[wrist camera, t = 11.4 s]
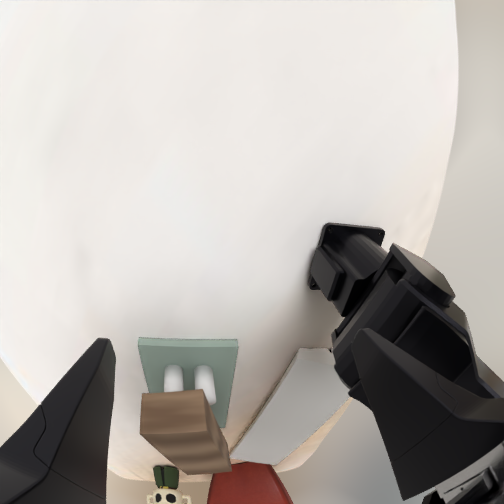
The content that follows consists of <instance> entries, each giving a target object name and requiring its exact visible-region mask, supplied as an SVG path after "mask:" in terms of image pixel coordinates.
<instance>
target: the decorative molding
mask: <svg viewBox="0 0 504 504" xmlns="http://www.w3.org/2000/svg"><path fill="white" fill-rule="evenodd" d="M331 351H333V348H331ZM334 364H335V359H334V355H333V352H332V353H330V351H329V350H328V349H327V348H312V349H308V348H299V350H298V352H297V353H296V355H295V357H294V359H293V360H292V362H291V364H290V365H289V367H288V369H287V370H286V372H285V373H284V375H283V377H282V378H281V380H280V381H279V383H278V385H277V386H276V388H275V389H274V391H273V393H272V394H271V396H270V397H269V399H268V400H267V402H266V403H265V405H264V406H263V408H262V409H261V411H260V412H259V414H258V415H257V417H256V418H255V420H254V421H253V422H252V424H251V425H250V427H249V428H248V430H247V431H246V432H245V434H244V435H243V437H242V438H241V439H240V441H239V442H238V443H237V445H236V446H235V447H234V449H233V450H232V452H231V454H230V456H229V457H230V458H232V459H237V460H243V461H249V462H256V463H263V464H271V465H277V464H278V463H279V462H281V461H282V460H283V459H284V458H286V457H287V456H288V455H289V454H291V453H292V452H293V451H294V450H295V449H296V448H298V447H299V446H300V445H301V444H302V443H303V442H305V441H306V440H307V439H308V438H309V437H310V436H311V435H312V434H313V433H314V432H316V431H317V430H318V429H319V428H320V427H321V426H322V425H323V424H324V423H325V422H326V421H327V420H328V419H329V418H330V417H331V416H332V415H333V414H334V413H335V412H336V411H337V410H338V409H339V408H340V407H341V406H342V405H343V404H344V403H345V402H346V401H347V400H348V398H349V397H350V396H349V395H348V391H349V390H350V389H348V388H347V387H346V386H345V385H344V384H343V383H342V381H341V380H340V378H339V376H338V375H337V373H336V371H335V369H334Z"/></svg>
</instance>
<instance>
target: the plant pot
mask: <svg viewBox="0 0 504 504" xmlns="http://www.w3.org/2000/svg"><path fill="white" fill-rule="evenodd" d="M231 468H232V471H230V472H222V473H213V476H212V480H211V484H210V488H209V494H208V500H207V504H293V502H292V500H291V498H290V496H289V494H288V492H287V490H286V489H285V487H284V485H283V483H282V482H281V480H280V478H279V477H278V475H277V474H276V472H275V471H274V469H273V468H272V466H271V465H270V464H263V463H256V462H247V463H241V464H234V465H231Z"/></svg>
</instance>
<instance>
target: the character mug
mask: <svg viewBox="0 0 504 504" xmlns="http://www.w3.org/2000/svg"><path fill="white" fill-rule="evenodd" d="M153 471H154V477H155V482H156V485H157V486H158V488H159V489H155V490H154V491H153V494H147V496H146V499H147V504H184V499H185V498H186V499H187V502H188V503H186V504H192V501H191V496H189V495H183V494H182V492H181V491H178V490H176V489H177V488H178V481H179V470H177V469H176V468H173V467H166V466H165V467H164V469H162V468H161V467H160V466H158V467H154V468H153ZM150 498H153V503H152V502H150Z"/></svg>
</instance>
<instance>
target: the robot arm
mask: <svg viewBox="0 0 504 504" xmlns="http://www.w3.org/2000/svg"><path fill="white" fill-rule="evenodd" d="M330 227H331V230H329V231H328V229H329V228H330ZM380 232H381V233H380ZM379 233H380V234H379ZM384 235H385V231H384V230H383V229H382V228H377V227H368V226H359V225H349V224H339V223H327V224H325V225H324V227H323V231H322V235H321V238H320V242H319V246H318V247H317V248H316V252H315V255H314V259H313V263H312V266H311V270H310V273H311V275H310V278H309V281H308V286H309V288H310V289H312V290H322V292H323V294H324V295H325V297H326V298H327V300H328V301H332V302H333V304H334V305H335V307H336V308H337V310H338V311H339V313H340V315H341V316H342V317H345V319H344V320H343V321H342V323H341V324H340V325H339V327H338V328H337V329H335V330H334V331H333V333H332V334H331V336H332V343H333V351H332V352H333V355H334V359H335V364H334V369H335V371H336V373H337V375H338V376H339V378H340V380H341V381H342V383H343V384H344V385H345V386H346V387H347V388H348V389H350V390H349V391H348V395H349V396H350V397H352V398H354V399H356V400H358V401H360V402H361V403H363V404H364V405H365V406H367V407H368V408H369V409H370V410H372V412H373V414H374V416H375V419H376V422H377V425H378V427H379V430H380V433H381V436H382V439H383V441H384V444H385V447H386V450H387V453H388V456H389V459H390V462H391V465H392V468H393V471H394V474H395V477H396V480H397V484H398V487H399V490H400V494H401V497H402V499H403V501H404V500H407V499H409V498H411V497H414V496H416V495H418V494H420V493H422V492H424V491H426V490H428V489H430V488H432V487H434V486H435V488H436V489H435V490H434V491H432V492H431V493H429V494H428V495H426V496H425V497H424V499H423V502H422V504H504V382H503V381H502V380H501V379H500V378H499V377H498V376H497V375H496V374H495V373H494V372H493V371H492V370H491V369H490V368H489V367H488V366H487V365H486V364H485V363H484V362H483V361H482V360H481V359H480V358H479V357H478V356H477V355H476V352H475V348H474V344H473V340H472V336H471V332H470V328H469V325H468V321H467V317H466V315H465V313H464V312H463V310H461V309H460V308H459V307H458V306H457V305H456V304H455V303H454V302H453V299H454V298H455V294H454V292H453V290H452V288H451V287H450V285H449V283H448V281H447V280H446V278H445V276H444V275H443V274H442V273H441V272H439V271H438V270H437V269H436V268H435V267H433V266H432V265H431V264H430V263H428V262H427V261H426V260H424V259H422V258H421V257H419V256H417V255H415V254H413V253H411V252H410V251H408V250H406V249H404V248H402V247H400V246H398V245H396V244H394V243H393V244H392V245H391V247H390V249H389V250H390V251H389V253H387V252H386V251H385V250H384V249H383V248H382V247H381V244H382V241H383V238H384ZM314 283H315V284H314ZM312 284H314V285H312ZM115 364H116V356H115V352H114V350H113V347H112V344H111V341H110V339H108V338H98V339H97V340H96V341H95V342H94V343H93V344H92V345H91V346H90V347H89V348H88V349H87V351H86V352H85V353H84V354H83V355H82V356H81V357H80V358H79V359H78V361H77V362H76V363H75V364H74V365H73V366H72V367H71V368H70V370H69V371H68V372H67V373H66V374H65V375H64V376H63V378H62V379H61V380H60V381H59V382H58V383H57V385H56V386H55V387H54V388H53V389H52V390H51V392H50V393H49V394H48V395H47V396H46V398H45V399H44V400H43V401H42V402H41V405H39V406H38V407H37V409H36V410H35V411H34V412H33V413H32V414H31V416H30V417H29V418H28V419H27V420H26V421H25V422H24V424H23V425H22V426H21V427H20V428H19V429H18V430H17V431H16V432H15V433H14V434H13V435H12V436H11V437H10V438H9V439H8V440H7V441H6V442H5V443H4V444H3V445H2V446H1V447H0V504H106V478H107V459H108V446H109V435H110V425H111V417H112V409H113V402H114V382H115Z"/></svg>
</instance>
